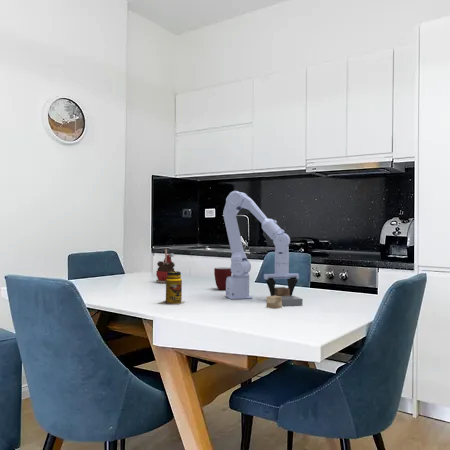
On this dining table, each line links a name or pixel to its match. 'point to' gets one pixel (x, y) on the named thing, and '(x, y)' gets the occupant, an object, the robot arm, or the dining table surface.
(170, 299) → the condiment
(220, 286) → the mug
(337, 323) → the dining table surface
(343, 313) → the dining table surface
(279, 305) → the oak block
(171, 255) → the cake
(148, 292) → the dining table surface
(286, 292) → the walnut cube
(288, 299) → the slate base
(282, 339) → the dining table surface
